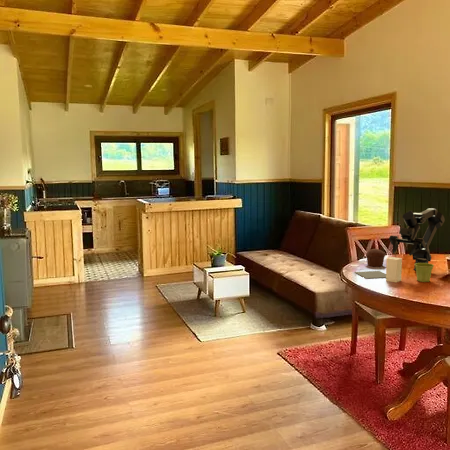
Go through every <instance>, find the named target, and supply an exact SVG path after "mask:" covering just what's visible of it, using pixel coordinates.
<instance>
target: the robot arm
mask: <svg viewBox="0 0 450 450" xmlns="http://www.w3.org/2000/svg"><path fill="white" fill-rule="evenodd" d="M402 219H403V221H404V224H405V226H407V227H400V228H399V232H398V234H399V235H400V237H401V238H399V237H398V235H390V236H389V237H388V240H389V243H390V244H391V245H392V253H393V254H395V253H396V252H397V250H398V248H399V247H400V246H399V245H400V243H402V244H409V245H412V247H411V249H410V251H409V256H412V260H413V261H415V262H414V264H415V263H429V262H431V261H432V254H431V253H430V252H431V251H430V249H429V247H430V245H431V242H432V240H433V238H434V236H435V234H436V232H437V230H438V229H440V228H441V227H442V226H443V225H444V223H445V216H444V214H443V213H441V212H440V211H438V209H437V208H432V207H431V208H427V209H426V210H423V211H421V212H413V210H408V211H407V212H405V213H403V215H402ZM426 221H427V223H428V226H427V228H426V231H425V233H424V235H423V237H422V238H421V237H418V236H417V234H418V232H420V231H421V224H423V225H424V223H426ZM413 266H414V268H413V271H416V268H415V265H413Z"/></svg>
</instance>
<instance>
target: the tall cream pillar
mask: <svg viewBox="0 0 450 450" xmlns="http://www.w3.org/2000/svg"><path fill="white" fill-rule="evenodd" d="M402 263H403V258H402V257H394V256H389V257H387V258H386V267H385V268H386V270H385V274H386V278H385V281H386V282H390V283H399V282H402V273H403V272H402V269H403V268H402V267H403V264H402Z"/></svg>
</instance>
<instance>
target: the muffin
mask: <svg viewBox="0 0 450 450" xmlns="http://www.w3.org/2000/svg"><path fill="white" fill-rule="evenodd" d="M365 256H366V262H367V266H368V267H373V268H374V267H375V268H380V267H383V265H384V262H385V261H384V259H385V257H386V254H385V252H384V251H383V250H381V249H378V248H373V249H372V248H371V249H370V250H367V252H366V254H365Z"/></svg>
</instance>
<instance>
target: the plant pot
mask: <svg viewBox="0 0 450 450" xmlns="http://www.w3.org/2000/svg"><path fill="white" fill-rule="evenodd" d="M413 266H415V268H416V270H415V273H416V280H417V281H418V282H422V283H429V282H430V281H431V276H432V271H433V268H434V266H435V265H434V264H433V263H430V262H428V263H415V262H414V263H413Z"/></svg>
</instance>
